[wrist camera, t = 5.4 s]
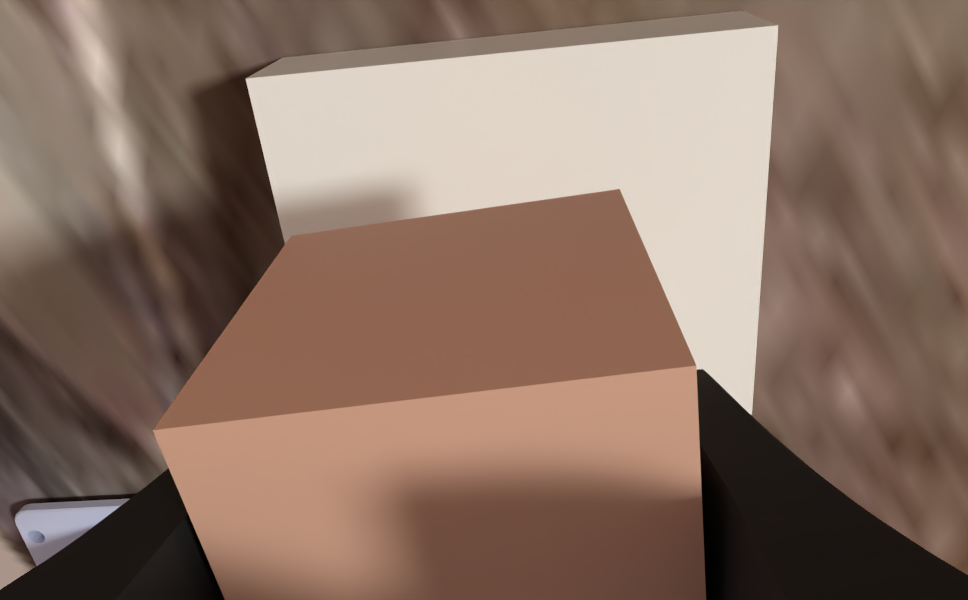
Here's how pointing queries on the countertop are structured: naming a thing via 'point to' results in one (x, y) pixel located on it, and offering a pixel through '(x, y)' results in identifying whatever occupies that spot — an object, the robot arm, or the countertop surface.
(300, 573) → the terracotta cube
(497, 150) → the base pad
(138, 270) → the countertop surface
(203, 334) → the countertop surface
